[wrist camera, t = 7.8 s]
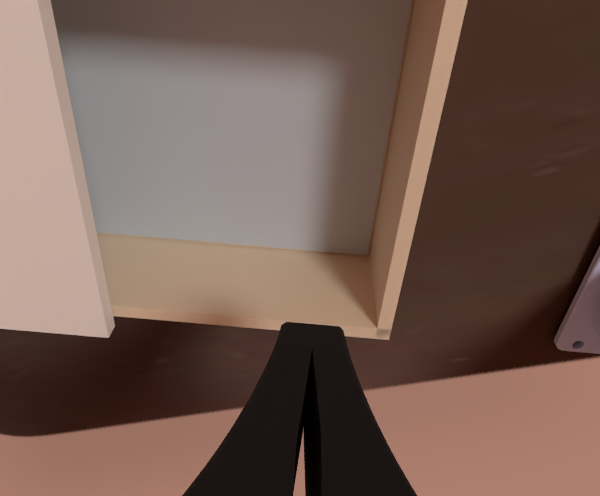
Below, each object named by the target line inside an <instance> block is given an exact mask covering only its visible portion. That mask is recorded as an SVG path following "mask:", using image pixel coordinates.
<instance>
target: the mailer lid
mask: <svg viewBox="0 0 600 496" xmlns="http://www.w3.org/2000/svg"><path fill="white" fill-rule="evenodd" d="M114 327H115V324H114V319H113V314H112V309H111V303H110V298H109V293H108V288H107V283H106V278H105V273H104V268H103V263H102V258H101V253H100V248H99V243H98V238H97V233H96V228H95V223H94V217H93V212H92V207H91V202H90V197H89V192H88V187H87V182H86V177H85V172H84V167H83V162H82V157H81V152H80V147H79V142H78V136H77V131H76V126H75V121H74V116H73V111H72V106H71V101H70V96H69V91H68V86H67V81H66V76H65V71H64V66H63V61H62V56H61V50H60V45H59V40H58V35H57V30H56V25H55V20H54V15H53V10H52V5H51V0H0V329H11V330H23V331H34V332H46V333H57V334H69V335H81V336H92V337H104V338H109V336H110V335H111V333H112V331H113V329H114Z"/></svg>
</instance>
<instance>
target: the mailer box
mask: <svg viewBox="0 0 600 496" xmlns="http://www.w3.org/2000/svg"><path fill="white" fill-rule="evenodd" d="M467 1H468V0H51V5H52V10H53V15H54V20H55V25H56V30H57V35H58V40H59V45H60V50H61V56H62V61H63V66H64V71H65V76H66V81H67V86H68V91H69V96H70V101H71V106H72V111H73V116H74V121H75V126H76V131H77V136H78V142H79V147H80V152H81V157H82V162H83V167H84V172H85V177H86V182H87V187H88V192H89V197H90V202H91V207H92V212H93V217H94V223H95V228H96V233H97V238H98V243H99V248H100V253H101V258H102V263H103V268H104V273H105V278H106V283H107V288H108V293H109V298H110V303H111V309H112V314H113V316H119V317H130V318H142V319H153V320H165V321H177V322H188V323H200V324H211V325H223V326H235V327H246V328H258V329H269V330H280V328H281V325H282V324H284V323H285V322H296V323H307V324H319V325H330V326H340V327H341V328H342V329H343V331H344V336H350V337H362V338H374V339H385V340H389V337H390V333H391V329H392V324H393V320H394V316H395V311H396V307H397V303H398V298H399V294H400V290H401V285H402V281H403V277H404V273H405V268H406V264H407V260H408V255H409V251H410V247H411V242H412V238H413V234H414V229H415V225H416V221H417V217H418V212H419V208H420V204H421V199H422V195H423V191H424V186H425V182H426V178H427V173H428V169H429V165H430V160H431V156H432V152H433V148H434V143H435V139H436V135H437V130H438V126H439V122H440V117H441V113H442V109H443V104H444V100H445V96H446V92H447V87H448V83H449V79H450V74H451V70H452V66H453V61H454V57H455V53H456V48H457V44H458V40H459V35H460V31H461V27H462V23H463V18H464V14H465V10H466V5H467Z"/></svg>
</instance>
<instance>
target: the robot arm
mask: <svg viewBox="0 0 600 496" xmlns="http://www.w3.org/2000/svg"><path fill="white" fill-rule="evenodd" d="M577 341H578V342H577ZM574 342H576V343H574ZM554 343H555V345H556V347H557V348H558V349H559V350H562V351H572V352H583V353H595V354H600V246H599V248H598V250H597V252H596V254H595V256H594V258H593V260H592V262H591V264H590V267H589V269H588V271H587V273H586V275H585V277H584V279H583V281H582V283H581V285H580V287H579V289H578V291H577V293H576V295H575V297H574V299H573V301H572V303H571V305H570V307H569V309H568V311H567V313H566V315H565V317H564V319H563V321H562V323H561V325H560V327H559V329H558V331H557V334H556V336H555V338H554ZM303 426H304V457H305V458H304V460H305V490H306V496H417V495H416V493H415V491H414V490H413V488H412V487H411V485H410V483H409V482H408V480H407V478H406V476H405V475H404V473H403V471H402V470H401V468H400V466H399V464H398V463H397V461H396V459H395V457H394V455H393V453H392V452H391V450H390V448H389V446H388V444H387V442H386V440H385V438H384V436H383V434H382V432H381V430H380V428H379V426H378V424H377V422H376V420H375V418H374V415H373V413H372V411H371V409H370V406H369V404H368V402H367V399H366V397H365V395H364V392H363V390H362V388H361V385H360V383H359V380H358V377H357V375H356V372H355V369H354V366H353V364H352V361H351V358H350V354H349V351H348V348H347V344H346V340H345V336H344V331H343V329H342V328H341V327H340V326H330V325H319V324H307V323H296V322H285V323H284V324H282V325H281V328H280V332H279V336H278V339H277V342H276V345H275V347H274V350H273V352H272V354H271V357H270V359H269V361H268V363H267V366H266V368H265V370H264V372H263V374H262V376H261V378H260V380H259V381H258V383H257V385H256V387H255V389H254V391H253V393H252V395H251V397H250V398H249V400H248V402H247V403H246V405H245V407H244V408H243V410H242V412H241V413H240V415H239V417H238V418H237V420H236V422H235V424H234V425H233V427H232V428H231V430H230V431H229V433H228V434H227V436H226V437H225V439H224V440H223V442H222V443H221V445H220V446H219V448H218V449H217V451H216V452H215V453H214V455H213V456H212V458H211V459H210V460H209V462H208V463H207V465H206V466H205V467H204V469H203V470H202V471H201V472H200V474H199V475H198V476H197V478H196V479H195V480H194V482H193V483H192V484H191V485H190V487H189V488H188V489H187V491H186V492H185V493H184V494H183V496H293V491H294V484H295V478H296V471H297V465H298V458H299V452H300V446H301V439H302V432H303Z"/></svg>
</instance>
